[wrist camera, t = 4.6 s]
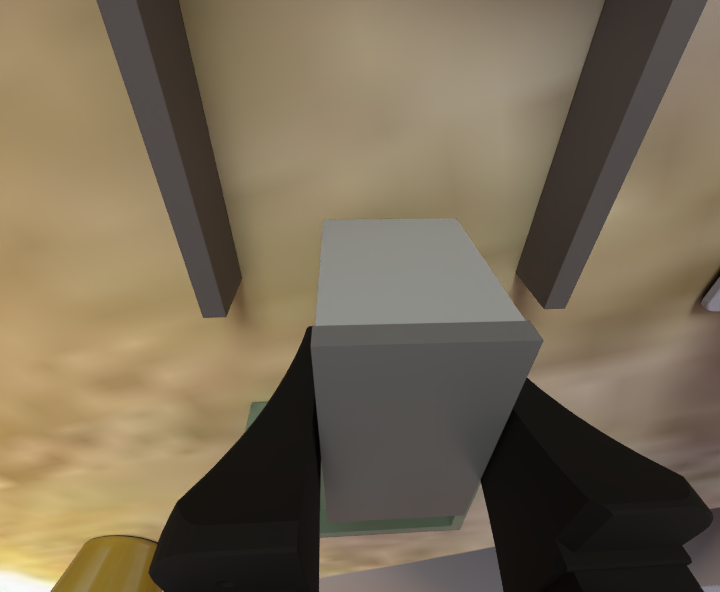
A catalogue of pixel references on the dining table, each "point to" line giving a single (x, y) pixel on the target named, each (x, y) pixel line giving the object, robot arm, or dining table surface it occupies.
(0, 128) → the dining table surface
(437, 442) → the grey upright block
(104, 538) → the plant pot
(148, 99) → the frame
